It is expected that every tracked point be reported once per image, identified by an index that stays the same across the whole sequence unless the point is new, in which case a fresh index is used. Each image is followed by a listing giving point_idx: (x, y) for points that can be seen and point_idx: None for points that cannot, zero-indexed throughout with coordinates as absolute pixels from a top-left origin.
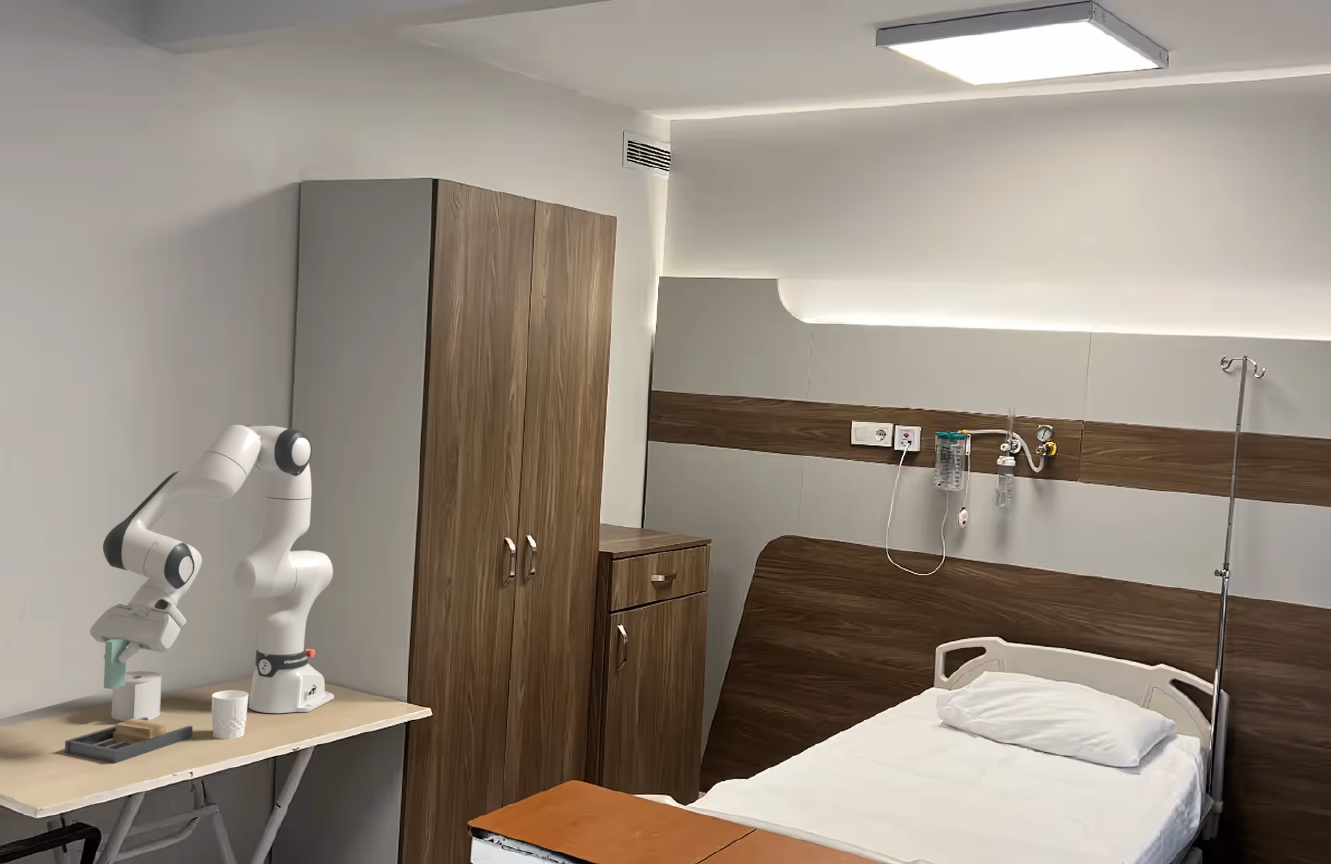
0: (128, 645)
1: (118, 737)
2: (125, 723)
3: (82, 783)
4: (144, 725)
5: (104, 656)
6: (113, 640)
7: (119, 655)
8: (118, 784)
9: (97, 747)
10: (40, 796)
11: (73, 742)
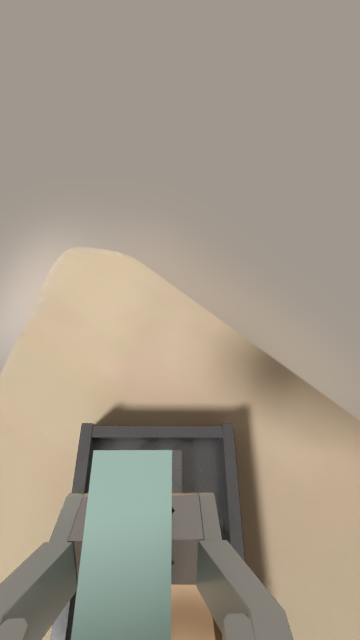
0: (20, 624)
1: None
2: (192, 603)
3: (81, 334)
4: None
5: (206, 493)
6: (138, 526)
7: (85, 514)
8: (20, 358)
9: (139, 427)
10: (96, 270)
11: (211, 426)
